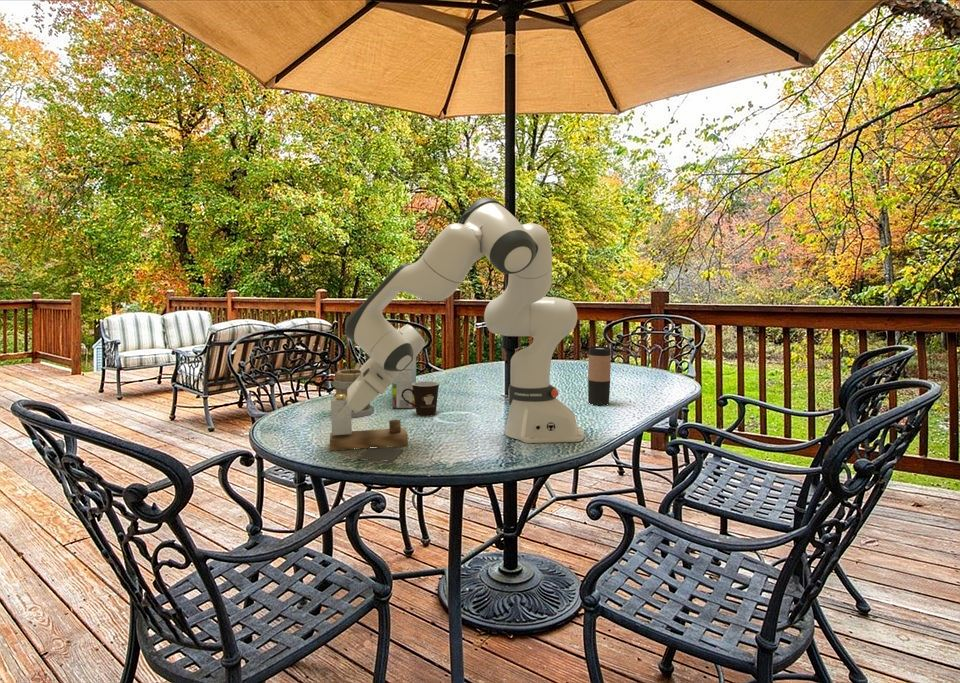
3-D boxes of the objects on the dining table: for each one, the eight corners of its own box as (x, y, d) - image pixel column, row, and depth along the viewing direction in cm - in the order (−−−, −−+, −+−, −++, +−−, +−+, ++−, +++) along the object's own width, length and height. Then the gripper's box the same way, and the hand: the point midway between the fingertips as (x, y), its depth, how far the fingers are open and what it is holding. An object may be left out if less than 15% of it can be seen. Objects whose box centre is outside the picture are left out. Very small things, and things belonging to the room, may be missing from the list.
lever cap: (351, 428, 151) (350, 392, 150) (351, 433, 146) (350, 396, 145) (332, 430, 150) (331, 393, 149) (332, 435, 145) (330, 397, 144)
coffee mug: (441, 410, 187) (441, 381, 186) (436, 417, 179) (436, 386, 178) (407, 410, 188) (406, 381, 187) (401, 416, 180) (400, 385, 179)
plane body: (405, 438, 155) (404, 417, 155) (407, 445, 149) (407, 423, 148) (330, 443, 151) (330, 421, 150) (330, 451, 144) (329, 428, 143)
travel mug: (587, 401, 202) (588, 346, 199) (608, 401, 201) (610, 346, 198) (588, 405, 194) (589, 348, 192) (610, 406, 193) (612, 349, 191)
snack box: (418, 408, 191) (417, 333, 188) (392, 409, 189) (390, 334, 186) (415, 395, 212) (413, 328, 209) (391, 396, 211) (390, 328, 208)
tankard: (368, 417, 178) (367, 371, 177) (328, 417, 179) (327, 371, 177) (380, 403, 198) (379, 362, 196) (345, 403, 198) (343, 362, 197)
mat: (403, 450, 145) (403, 448, 145) (393, 461, 136) (393, 460, 136) (369, 449, 146) (369, 447, 146) (357, 460, 137) (357, 458, 137)
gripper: (365, 361, 158) (331, 397, 157) (368, 374, 138) (328, 415, 137) (382, 376, 159) (348, 412, 158) (386, 391, 139) (347, 432, 138)
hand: (339, 414), depth 147 cm, fingers closed on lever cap, 5 cm apart
